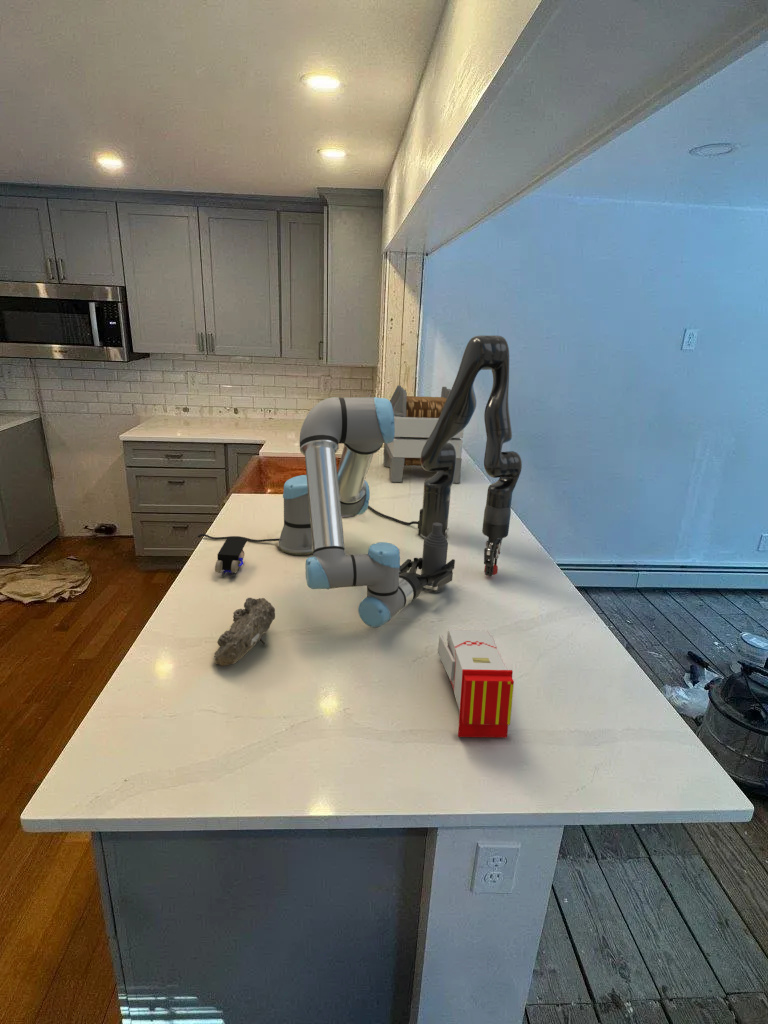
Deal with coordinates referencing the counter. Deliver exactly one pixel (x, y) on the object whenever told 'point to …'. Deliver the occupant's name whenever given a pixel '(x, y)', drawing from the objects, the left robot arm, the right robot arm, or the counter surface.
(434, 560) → the bottle
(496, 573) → the cap
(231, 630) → the fossil
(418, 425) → the grey boxy piece
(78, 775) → the counter surface
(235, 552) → the black toy car
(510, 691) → the toy
